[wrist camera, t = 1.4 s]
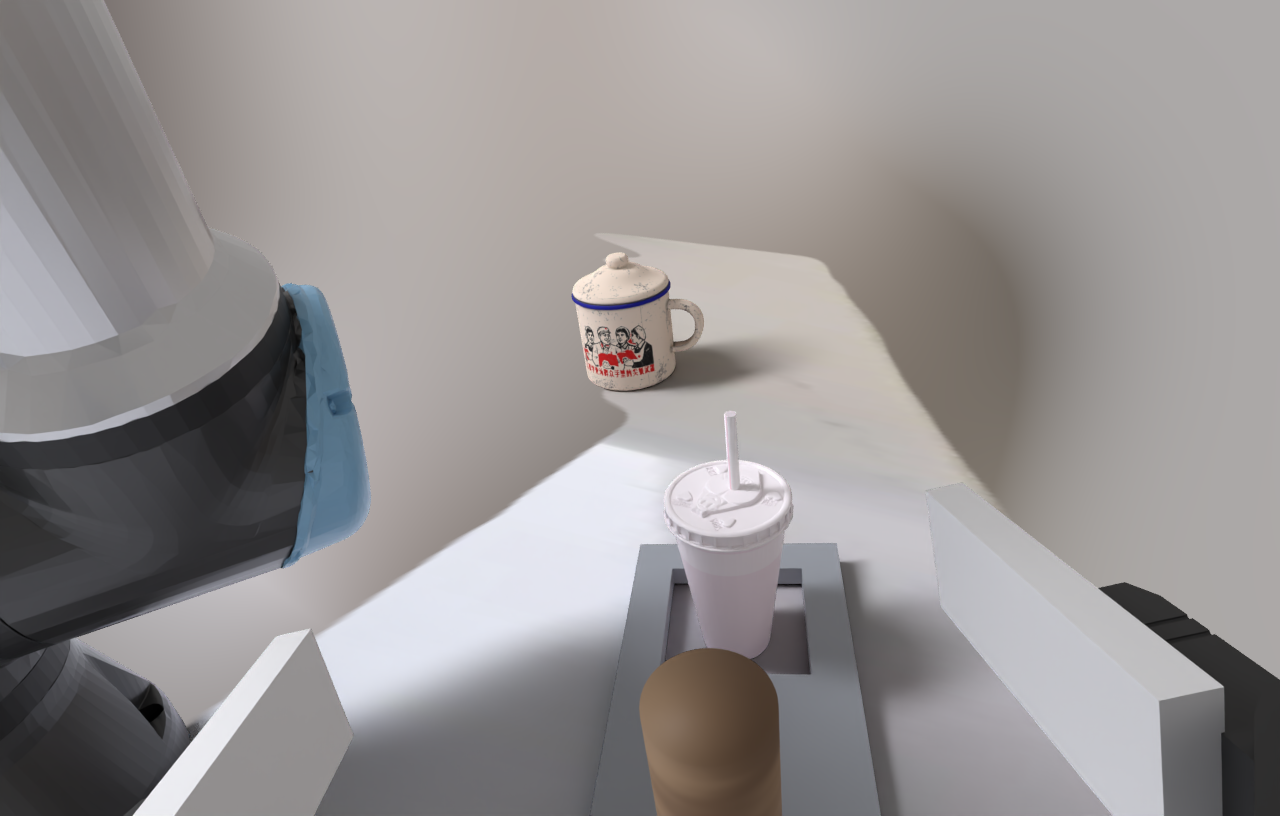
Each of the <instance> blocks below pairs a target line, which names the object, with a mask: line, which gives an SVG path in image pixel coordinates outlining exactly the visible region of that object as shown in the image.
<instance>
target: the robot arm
mask: <svg viewBox="0 0 1280 816" xmlns="http://www.w3.org/2000/svg"><path fill="white" fill-rule="evenodd" d="M351 398H352V394H351V390H350V386H349V381H348V374H347V369H346V365H345V361H344V357H343V353H342V349H341V346H340V342H339V339H338V335H337V331H336V328H335V325H334V321H333V318H332V315H331V312H330V309H329V307H328V304H327V302H326V299H325V297H324V295H323V293H322V292H321V291H320V290H319V289H318V288H316V287H314V286H310V285H296V284H292V283H290V284H285V285H283V286H280V284H279V281H278V279H277V276H276V274H275V272H274V269H273V267H272V266H271V264H270V263H269V261H268V260H267V259H266V257H265V256H264V255H263V254H262V253H261V252H260V251H259V250H258V249H257V248H256V247H254V246H252V245H251V244H249V243H248V242H247V241H245V240H242V239H240V238H238V237H236V236H234V235H231V234H228V233H224V232H222V231H219V230H216V229H213V228H210V227H208V226H207V224H206V222H205V220H204V218H203V216H202V213H201V211H200V209H199V207H198V205H197V202H196V200H195V198H194V196H193V194H192V192H191V189H190V187H189V185H188V183H187V181H186V179H185V176H184V174H183V172H182V170H181V168H180V165H179V163H178V161H177V159H176V157H175V155H174V152H173V150H172V148H171V146H170V144H169V141H168V139H167V137H166V135H165V133H164V131H163V128H162V126H161V124H160V122H159V119H158V117H157V115H156V113H155V111H154V109H153V107H152V104H151V102H150V100H149V98H148V95H147V93H146V91H145V89H144V87H143V85H142V82H141V80H140V78H139V76H138V74H137V72H136V69H135V67H134V65H133V63H132V61H131V58H130V56H129V54H128V52H127V50H126V47H125V45H124V43H123V41H122V39H121V36H120V34H119V32H118V30H117V28H116V26H115V24H114V21H113V19H112V17H111V15H110V12H109V10H108V8H107V6H106V4H105V2H104V0H0V816H314V815H315V813H316V811H317V809H318V807H319V805H320V803H321V801H322V799H323V797H324V795H325V793H326V791H327V789H328V787H329V785H330V783H331V781H332V779H333V777H334V775H335V773H336V771H337V769H338V767H339V765H340V763H341V761H342V759H343V757H344V755H345V753H346V751H347V749H348V747H349V745H350V743H351V741H352V739H353V737H354V735H353V732H352V730H351V727H350V725H349V722H348V720H347V717H346V715H345V712H344V710H343V707H342V705H341V702H340V700H339V697H338V695H337V692H336V690H335V687H334V685H333V682H332V680H331V677H330V675H329V672H328V670H327V667H326V665H325V662H324V660H323V657H322V655H321V652H320V650H319V647H318V644H317V642H316V639H315V637H314V634H313V632H312V629H306V630H302V631H297V632H293V633H288V634H284V635H279V636H276V637H275V638H274V640H273V641H272V642H271V643H270V645H269V646H268V647H267V648H266V650H265V651H264V652H263V653H262V655H261V656H260V657H259V658H258V660H257V661H256V662H255V663H254V665H253V666H252V667H251V668H250V670H249V671H248V672H247V673H246V675H245V676H244V677H243V678H242V680H241V681H240V682H239V683H238V685H237V686H236V687H235V688H234V690H233V691H232V692H231V693H230V695H229V696H228V697H227V698H226V700H225V701H224V702H223V703H222V705H221V706H220V707H219V708H218V710H217V711H216V712H215V713H214V715H213V716H212V717H211V718H210V720H209V721H208V722H207V723H206V725H205V726H204V727H203V728H202V730H201V731H200V732H199V733H198V735H197V736H196V737H195V738H194V740H193V741H192V742H191V743H190V738H189V734H188V731H187V728H186V726H185V724H184V722H183V720H182V719H181V718H180V716H179V714H178V713H177V711H176V710H175V708H174V707H173V705H172V704H171V702H170V700H169V699H168V697H167V696H166V695H165V694H164V693H163V692H162V691H161V690H160V689H159V688H158V687H157V686H156V685H155V684H153V683H152V682H150V681H149V680H147V679H145V678H144V677H142V676H140V675H138V674H137V673H135V672H133V671H132V670H130V669H128V668H127V667H125V666H123V665H122V664H120V663H118V662H117V661H115V660H113V659H111V658H110V657H108V656H106V655H105V654H103V653H101V652H99V651H98V650H96V649H94V648H93V647H91V646H89V645H87V644H86V643H84V642H82V641H81V640H79V639H77V638H76V637H79V636H82V635H85V634H88V633H91V632H94V631H96V630H99V629H102V628H105V627H108V626H111V625H114V624H117V623H120V622H123V621H126V620H129V619H132V618H134V617H138V616H140V615H143V614H146V613H149V612H152V611H155V610H158V609H161V608H164V607H167V606H170V605H173V604H175V603H179V602H181V601H184V600H187V599H190V598H193V597H196V596H199V595H202V594H205V593H208V592H211V591H213V590H217V589H220V588H222V587H225V586H228V585H231V584H234V583H237V582H240V581H243V580H246V579H249V578H252V577H255V576H258V575H261V574H264V573H267V572H269V571H272V570H275V569H278V568H286V567H289V566H291V565H293V564H295V563H296V562H297V561H298V560H299V559H300V558H301V557H303V556H306V555H308V554H311V553H313V552H315V551H318V550H320V549H323V548H325V547H327V546H330V545H332V544H334V543H337V542H339V541H342V540H344V539H346V538H348V537H349V536H351V535H353V534H354V533H355V532H356V531H358V530H359V528H360V527H361V526H362V525H363V523H364V521H365V520H366V518H367V515H368V513H369V509H370V503H371V493H370V483H369V475H368V469H367V462H366V456H365V451H364V446H363V441H362V436H361V431H360V426H359V422H358V418H357V414H356V410H355V407H354V405H353V403H352V402H351ZM926 499H927V506H928V514H929V522H930V529H931V537H932V544H933V552H934V559H935V567H936V574H937V582H938V589H939V597H940V605H941V608H942V609H943V610H944V611H945V613H946V614H947V615H948V616H949V618H950V619H951V620H952V621H953V622H954V624H955V625H956V626H957V627H958V629H959V630H960V631H961V632H962V633H963V635H964V636H965V637H966V638H967V639H968V641H969V642H970V643H971V644H972V646H973V647H974V648H975V649H976V650H977V652H978V653H979V654H980V655H981V656H982V658H983V659H984V660H985V661H986V663H987V664H988V665H989V666H990V667H991V669H992V670H993V671H994V672H995V673H996V675H997V676H998V677H999V678H1000V680H1001V681H1002V682H1003V683H1004V684H1005V686H1006V687H1007V688H1008V689H1009V690H1010V692H1011V693H1012V694H1013V695H1014V697H1015V698H1016V699H1017V700H1018V701H1019V703H1020V704H1021V705H1022V706H1023V707H1024V709H1025V710H1026V711H1027V712H1028V714H1029V715H1030V716H1031V717H1032V718H1033V720H1034V721H1035V722H1036V723H1037V724H1038V726H1039V727H1040V728H1041V729H1042V731H1043V732H1044V733H1045V734H1046V735H1047V737H1048V738H1049V739H1050V740H1051V741H1052V743H1053V744H1054V745H1055V746H1056V748H1057V749H1058V750H1059V751H1060V752H1061V754H1062V755H1063V756H1064V757H1065V759H1066V760H1067V761H1068V762H1069V763H1070V765H1071V766H1072V767H1073V768H1074V769H1075V771H1076V772H1077V773H1078V774H1079V776H1080V777H1081V778H1082V779H1083V780H1084V782H1085V783H1086V784H1087V785H1088V786H1089V788H1090V789H1091V790H1092V791H1093V793H1094V794H1095V795H1096V796H1097V797H1098V799H1099V800H1100V801H1101V802H1102V803H1103V805H1104V806H1105V807H1106V808H1107V810H1108V811H1109V812H1110V813H1111V814H1112V816H1280V680H1279V679H1278V678H1276V677H1275V676H1273V675H1272V674H1271V673H1269V672H1268V671H1266V670H1265V669H1264V668H1262V667H1261V666H1259V665H1258V664H1256V663H1255V662H1254V661H1252V660H1251V659H1249V658H1248V657H1246V656H1245V655H1244V654H1242V653H1241V652H1239V651H1238V650H1237V649H1235V648H1234V647H1232V646H1231V645H1229V644H1228V643H1227V642H1225V641H1224V640H1222V639H1221V638H1219V637H1218V636H1217V635H1215V634H1214V635H1211V634H1210V631H1209V630H1208V629H1207V628H1205V627H1204V626H1202V625H1201V624H1200V623H1198V622H1197V621H1195V620H1194V619H1193V618H1192V619H1189V618H1188V617H1187V614H1185V613H1184V612H1183V611H1181V610H1180V609H1178V608H1177V607H1176V606H1174V605H1173V604H1171V603H1170V602H1168V601H1167V600H1166V599H1164V598H1163V597H1161V596H1159V595H1157V594H1154V593H1152V592H1149V591H1146V590H1144V589H1141V588H1138V587H1136V586H1133V585H1131V584H1128V583H1125V582H1124V583H1119V584H1115V585H1111V586H1106V587H1101V588H1097V587H1096V586H1094V585H1093V584H1091V583H1090V582H1089V581H1088V580H1087V579H1085V578H1084V577H1083V576H1081V575H1080V574H1079V573H1078V572H1076V571H1075V570H1074V569H1072V568H1071V567H1070V566H1069V565H1067V564H1066V563H1065V562H1064V561H1062V560H1061V559H1060V558H1058V557H1057V556H1056V555H1055V554H1053V553H1052V552H1051V551H1049V550H1048V549H1047V548H1046V547H1044V546H1043V545H1042V544H1040V543H1039V542H1038V541H1037V540H1035V539H1034V538H1033V537H1031V536H1030V535H1029V534H1028V533H1026V532H1025V531H1024V530H1022V529H1021V528H1020V527H1019V526H1017V525H1016V524H1015V523H1014V522H1012V521H1011V520H1010V519H1008V518H1007V517H1006V516H1005V515H1003V514H1002V513H1001V512H999V511H998V510H997V509H996V508H994V507H993V506H992V505H990V504H989V503H988V502H987V501H985V500H984V499H983V498H982V497H980V496H979V495H978V494H976V493H975V492H974V491H973V490H971V489H970V488H969V487H967V486H966V485H965V484H964V483H957V484H953V485H948V486H944V487H939V488H935V489H931V490H926Z"/></svg>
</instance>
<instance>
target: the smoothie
mask: <svg viewBox="0 0 1280 816" xmlns="http://www.w3.org/2000/svg"><path fill="white" fill-rule="evenodd" d="M724 421H725V435H726V450H727V460H718V461H712V462H707V463H703V464H700V465H697V466H694V467H692V468H690V469H688V470H686V471H684V472H683V473H681V474H680V475H678V476H677V477H676V478H675V479H674V480H673V481H672V482H671V483H670V484H669V486H668V487H667V489H666V491H665V494H664V518H665V523H666V525H667V526H668V528H669V530H670V532H671V533H672V534H673V535H675V536H676V540H677V544H678V548H679V551H680V554H681V558H682V562H683V565H684V569H685V573H686V576H687V580H688V584H689V587H690V591H691V595H692V598H693V602H694V605H695V609H696V613H697V616H698V620H699V624H700V627H701V631H702V635H703V638H704V642H705V644H706V646H707V648H716V649H724V650H729V651H732V652H736V653H738V654H741V655H743V656H745V657H747V658H749V659H752V658H754V657H756V656H758V655H760V654H761V653H762V652H763V651H764V650H765V649H766V648H767V646H768V644H769V641H770V636H771V628H772V621H773V613H774V606H775V599H776V591H777V584H778V576H779V569H780V562H781V554H782V547H783V541H784V532H785V530H786V529H787V528H788V526H789V524H790V522H791V520H792V518H793V504H792V492H791V488H790V486H789V484H788V483H787V481H786V480H785V479H784V478H783V477H782V476H781V475H780V474H779V473H777V472H776V471H774V470H772V469H771V468H769V467H766V466H764V465H761V464H758V463H754V462H750V461H743V460H739V457H738V439H737V422H736V412H734V411H727V412H725V413H724Z"/></svg>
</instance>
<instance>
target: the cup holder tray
mask: <svg viewBox="0 0 1280 816" xmlns="http://www.w3.org/2000/svg"><path fill="white" fill-rule="evenodd" d="M674 583H688V580H687V576H686V573H685V569H684V565H683V562H682V558H681V554H680V551H679V548H678V544H641V545H640V550H639V556H638V561H637V566H636V572H635V577H634V582H633V588H632V593H631V598H630V604H629V609H628V614H627V620H626V625H625V630H624V636H623V641H622V646H621V652H620V657H619V662H618V668H617V673H616V678H615V684H614V689H613V694H612V700H611V705H610V710H609V716H608V721H607V727H606V732H605V737H604V743H603V748H602V753H601V759H600V764H599V769H598V775H597V780H596V785H595V791H594V796H593V801H592V807H591V812H590V816H881V812H880V806H879V800H878V794H877V788H876V781H875V775H874V769H873V763H872V757H871V751H870V745H869V739H868V733H867V726H866V720H865V714H864V708H863V702H862V696H861V690H860V684H859V678H858V671H857V665H856V659H855V653H854V647H853V641H852V635H851V629H850V623H849V616H848V610H847V604H846V598H845V592H844V586H843V580H842V574H841V568H840V561H839V555H838V549H837V543H793V544H783V547H782V554H781V562H780V569H779V576H778V584H802V591H803V602H804V612H805V623H806V633H807V644H808V655H809V665H810V675H806V674H766V673H765V671H764V670H763V669H762V668H761V667H760V666H759V665H757V664H756V663H755V662H753V661H752V660H751V659H749V658H747V657H745V656H743V655H741V654H738V653H736V652H732V651H729V650H724V649H716V648H702V649H695V650H690V651H686V652H683V653H681V654H678V655H676V656H674V657H672V658H670V659H668V660H667V661H665V655H666V647H667V638H668V630H669V621H670V613H671V605H672V596H673V588H674Z"/></svg>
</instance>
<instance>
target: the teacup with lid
mask: <svg viewBox="0 0 1280 816" xmlns="http://www.w3.org/2000/svg"><path fill="white" fill-rule="evenodd" d="M669 289H670V281H669V279H668V277H667V275H666V274H665V273H664V272H663V271H661V270H659V269H657V268H654V267H649V266H642V265H640V264H637V263H634V262H628V256H627V255H626V254H625V253H613V254H610V255H608V256H607V258H606V265H604V266H602V267H600V268H599V269H598V270H596V271H595V272H593V273H591V274H588V275H586V276H585V277H583V278H581V279H580V280H579V281H577V282H576V284H575V285H574V287H573V291H572V299H573V301H574V302H575V303H576V309H577V315H578V320H579V327H580V333H581V338H582V345H583V351H584V357H585V362H586V369H587V374H588V377H589V379H590V380H591V381H592V382H593V383H594V384H595V385H597V386H599V387H602V388H605V389H609V390H618V391H627V390H637V389H642V388H646V387H649V386H652V385H655V384H657V383H659V382H661V381H663V380H665V379H666V378H667V377H669V376H670V375H671V373H672V372H673V371H674V369H675V365H676V361H675V352H677V351H684V350H687V349H689V348H691V347H693V346H694V345H695V344H696V343H697V341H698V340H699V338H700V336H701V334H702V331H703V327H704V318H703V314H702V312H701V310H700V309H699V307H698V306H697V305H695V304H694V303H692V302H691V301H688V300H684V299H669V292H668V291H669ZM670 309H682V310H685V311H687V312H689V313H690V314H691V315H692V316H693V318H694V320H695V332H694V334H693V336H692V337H690V338H689V339H687V340H685V341H679V342H673V332H672V322H671V312H670Z"/></svg>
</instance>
